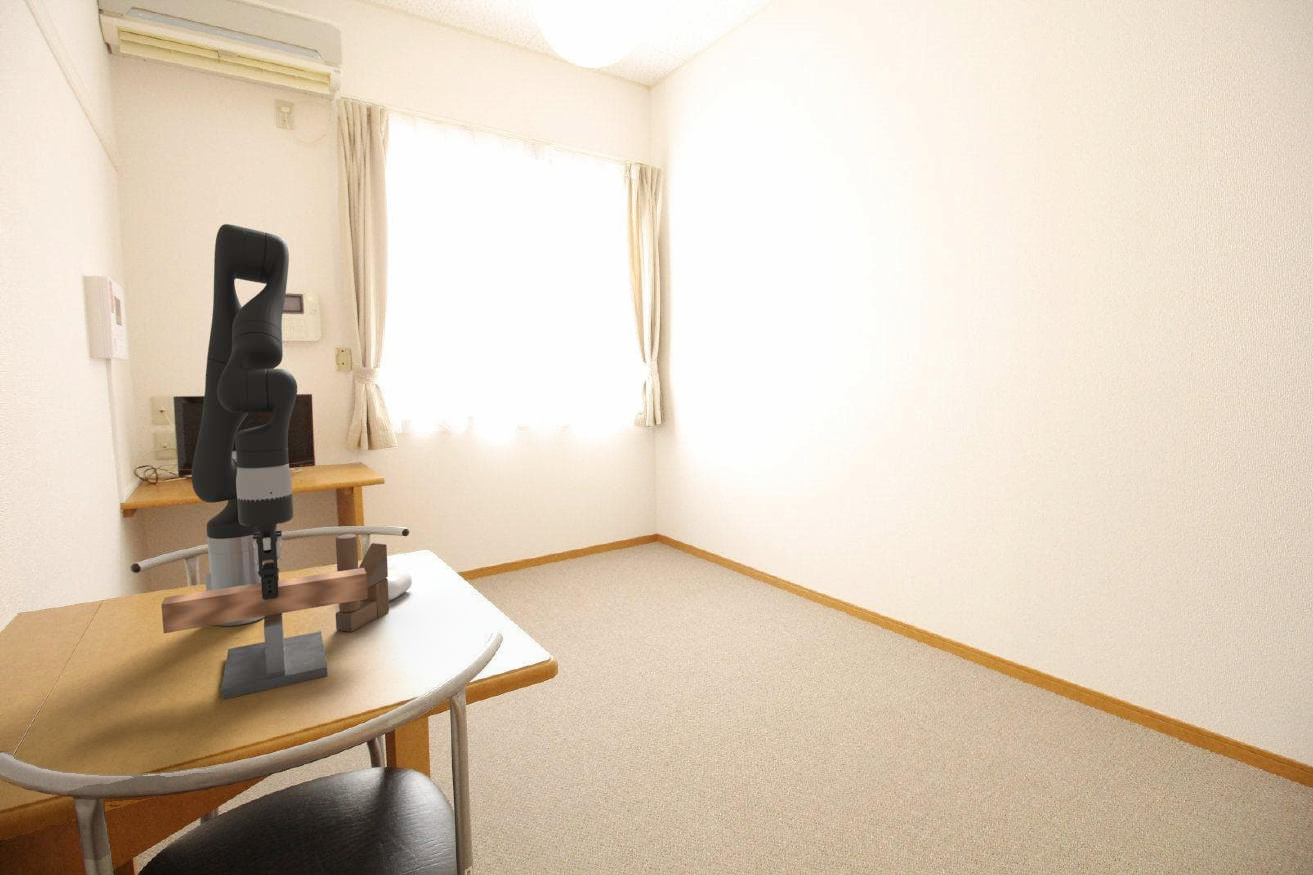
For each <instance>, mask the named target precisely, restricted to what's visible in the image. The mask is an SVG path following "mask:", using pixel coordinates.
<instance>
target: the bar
mask: <svg viewBox="0 0 1313 875" xmlns="http://www.w3.org/2000/svg"><path fill="white" fill-rule="evenodd" d="M358 568H359V567H358ZM278 590H279V596H278V597H277V598H275V599H268V600H264V599H263V598H262V586H261V583H258V584H251V585H244V586H237V587H231V588H224V589H217V590H210V591H206V590H205V591H198V592H191V593H184V594H177V595H170V596H165V597H164V598H163V600H162V603H161V606H160V607H161V616H162V628H163V629H162V630H163V634H168V633H174V632H180V631H187V630H192V629H197V628H198V629H199V628H204V627H211V626H215V625H216V624H222V623H228V622H234V621H240V620H245V619H251V618H257V617H263V616H269V615H275V614H280V613H282V614H285V613H290V612H291V613H292V612H297V611H302V610H303V611H304V610H309V609H314V608H320V607H327V606H332V605H337V604H338V605H339V603H344V602H350V601H356V600H362V599H367V598H368V595H367V574H366V571H365V569H364V568H359V569H352V570H345V571H339V572H337V571H334V572H326V573H320V574H313V575H305V576H299V577H292V578H287V579H280V580H278ZM263 618H264V617H263Z"/></svg>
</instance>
